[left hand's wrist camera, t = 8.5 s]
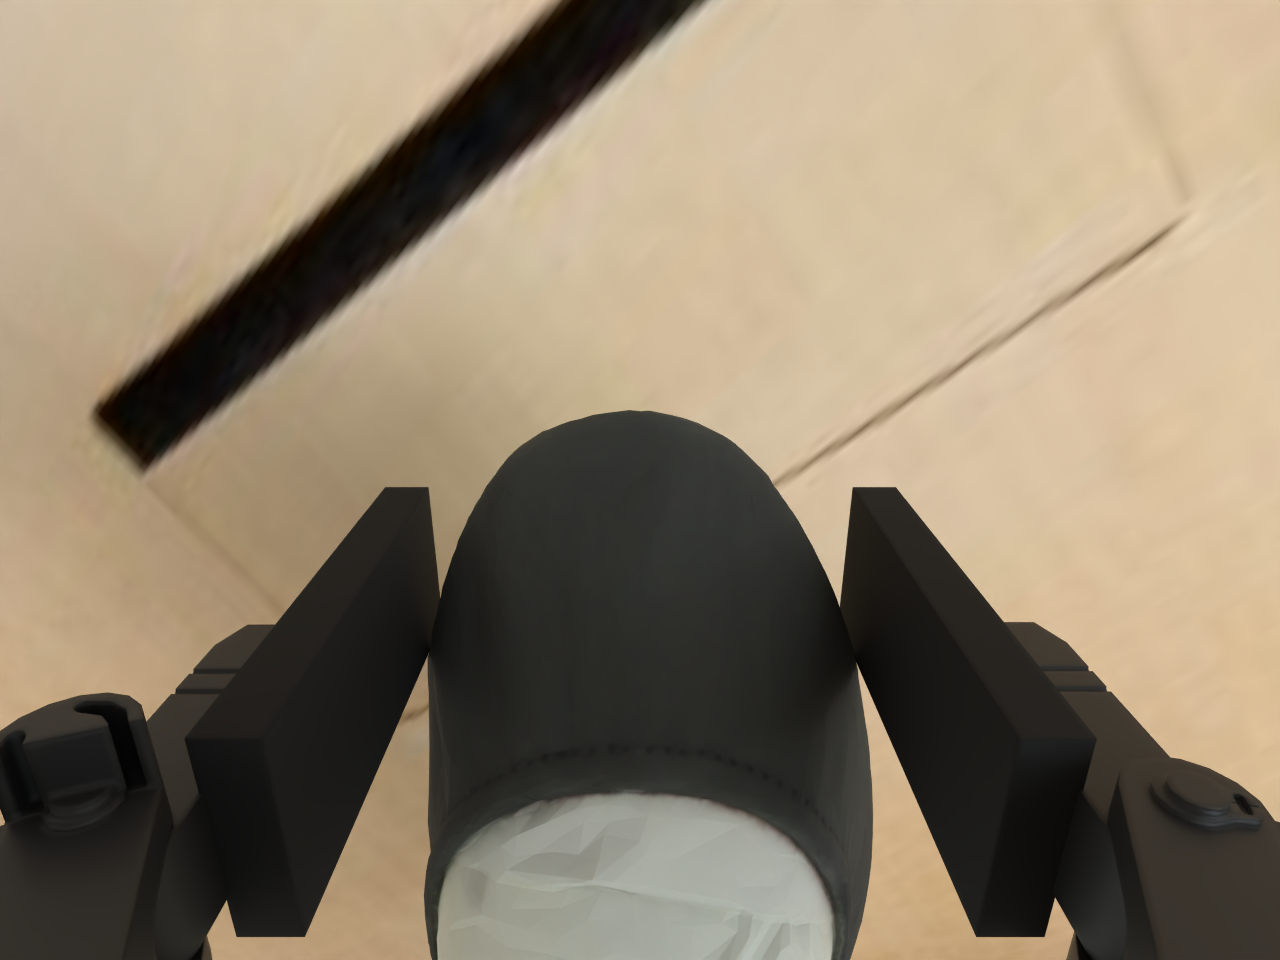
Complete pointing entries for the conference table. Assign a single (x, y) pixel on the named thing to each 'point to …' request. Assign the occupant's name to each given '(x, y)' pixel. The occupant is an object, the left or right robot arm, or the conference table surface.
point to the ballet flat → (642, 713)
